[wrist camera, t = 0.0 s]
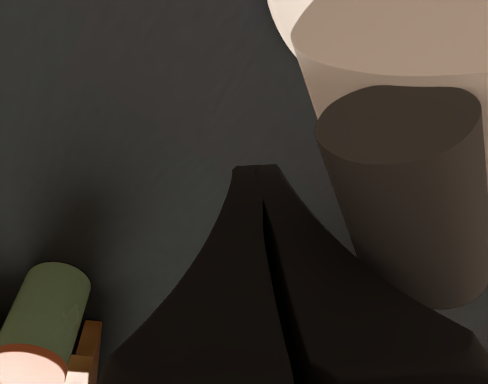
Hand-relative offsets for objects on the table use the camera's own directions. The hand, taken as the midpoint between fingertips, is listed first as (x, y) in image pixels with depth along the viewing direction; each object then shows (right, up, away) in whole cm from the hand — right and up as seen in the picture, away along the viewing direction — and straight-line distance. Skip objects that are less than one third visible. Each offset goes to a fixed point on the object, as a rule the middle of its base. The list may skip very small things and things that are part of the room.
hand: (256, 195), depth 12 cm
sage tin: (-13, -6, +17) cm, 22 cm away
